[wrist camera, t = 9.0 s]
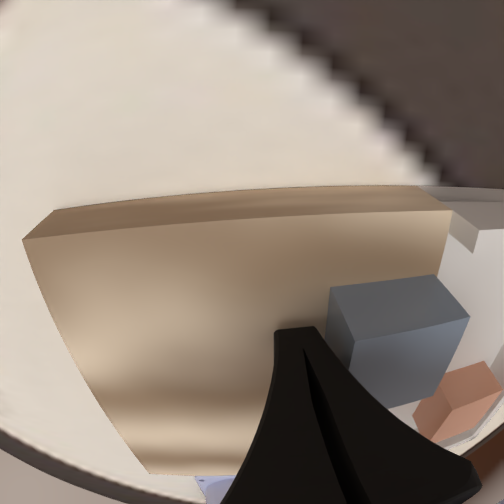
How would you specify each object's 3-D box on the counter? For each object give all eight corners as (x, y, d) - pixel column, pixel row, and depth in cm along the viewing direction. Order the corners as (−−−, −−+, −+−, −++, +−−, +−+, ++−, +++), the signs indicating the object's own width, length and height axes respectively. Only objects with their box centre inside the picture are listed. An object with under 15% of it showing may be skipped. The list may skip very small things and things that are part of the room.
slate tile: (408, 352, 12) (432, 395, 10) (320, 369, 12) (335, 420, 10) (433, 273, 10) (470, 316, 8) (330, 286, 10) (355, 341, 8)
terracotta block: (459, 400, 17) (474, 427, 15) (412, 415, 17) (425, 446, 14) (484, 360, 15) (502, 389, 13) (434, 376, 15) (452, 410, 12)
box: (455, 400, 20) (474, 438, 16) (353, 428, 19) (367, 475, 16) (541, 192, 12) (592, 224, 8) (416, 186, 11) (479, 230, 8)
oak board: (353, 428, 19) (362, 457, 17) (152, 443, 19) (149, 473, 17) (416, 186, 11) (452, 210, 9) (53, 210, 11) (21, 239, 9)
